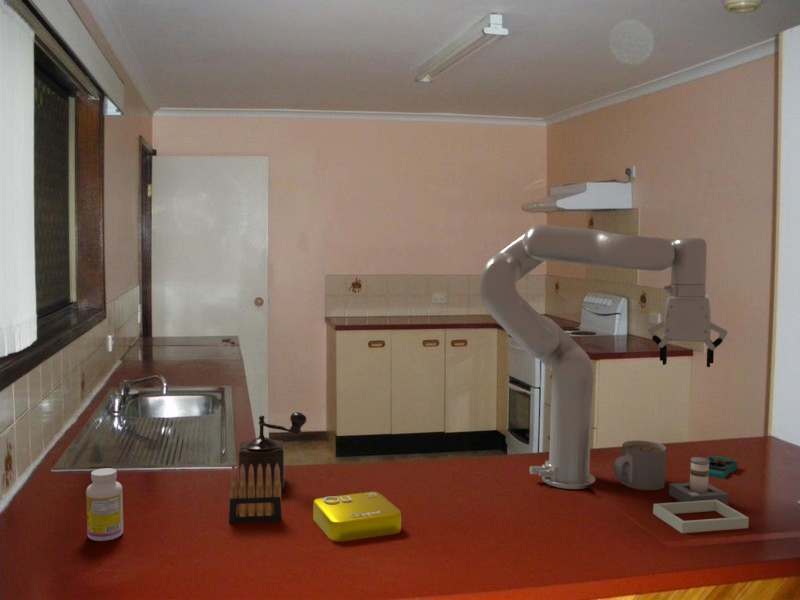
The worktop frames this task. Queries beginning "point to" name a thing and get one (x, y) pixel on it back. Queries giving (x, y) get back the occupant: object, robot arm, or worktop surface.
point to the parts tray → (730, 522)
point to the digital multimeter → (721, 466)
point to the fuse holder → (685, 495)
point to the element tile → (356, 516)
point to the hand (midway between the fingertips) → (686, 365)
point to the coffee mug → (641, 465)
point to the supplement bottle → (104, 506)
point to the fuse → (699, 475)
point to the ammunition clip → (255, 496)
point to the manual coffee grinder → (267, 449)
